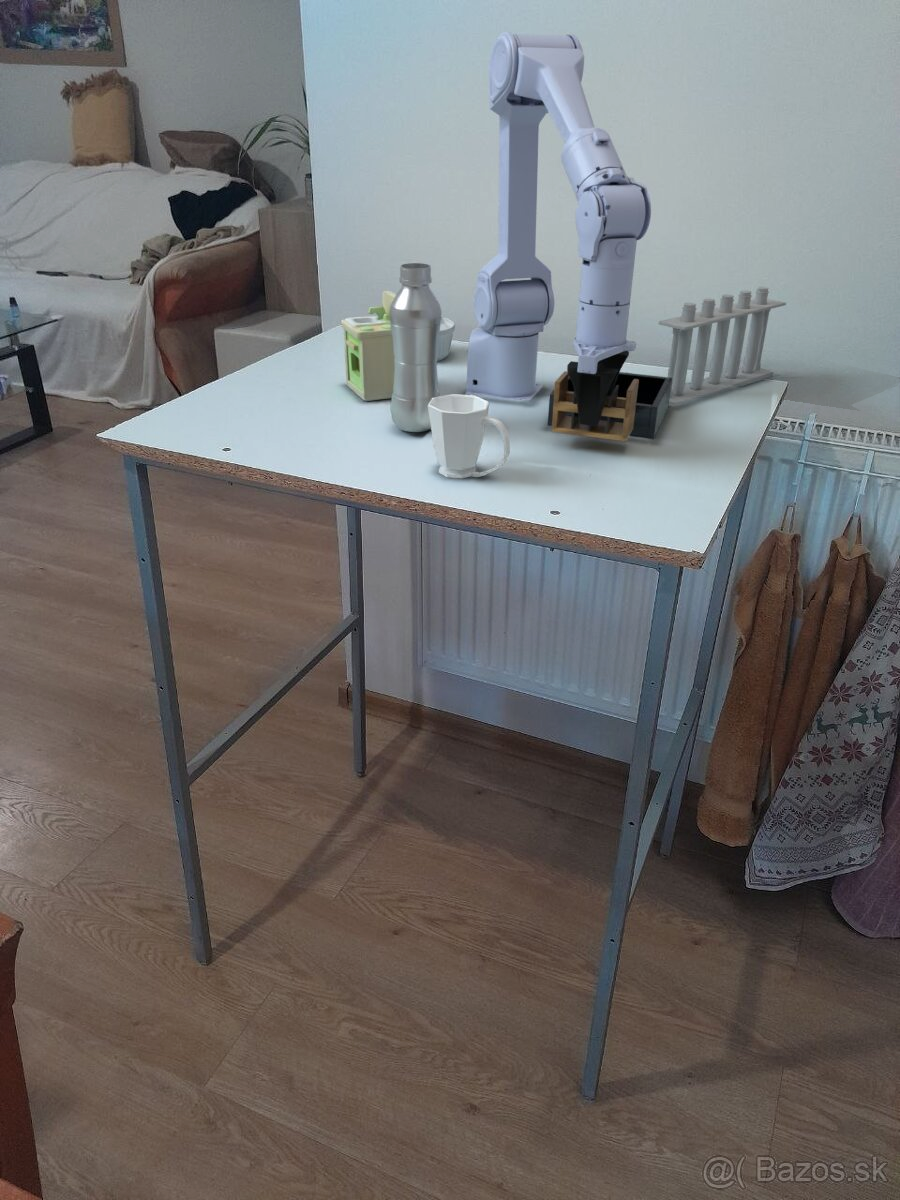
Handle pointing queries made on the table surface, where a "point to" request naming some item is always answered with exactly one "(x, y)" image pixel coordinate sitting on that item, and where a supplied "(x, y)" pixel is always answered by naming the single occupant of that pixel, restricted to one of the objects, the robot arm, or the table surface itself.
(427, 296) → the silver bottle
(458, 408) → the cup
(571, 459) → the table surface
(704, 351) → the test tube rack
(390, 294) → the toy sink
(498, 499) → the table surface
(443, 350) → the ramekin
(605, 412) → the dish rack
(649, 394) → the dark grey open box
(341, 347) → the table surface
